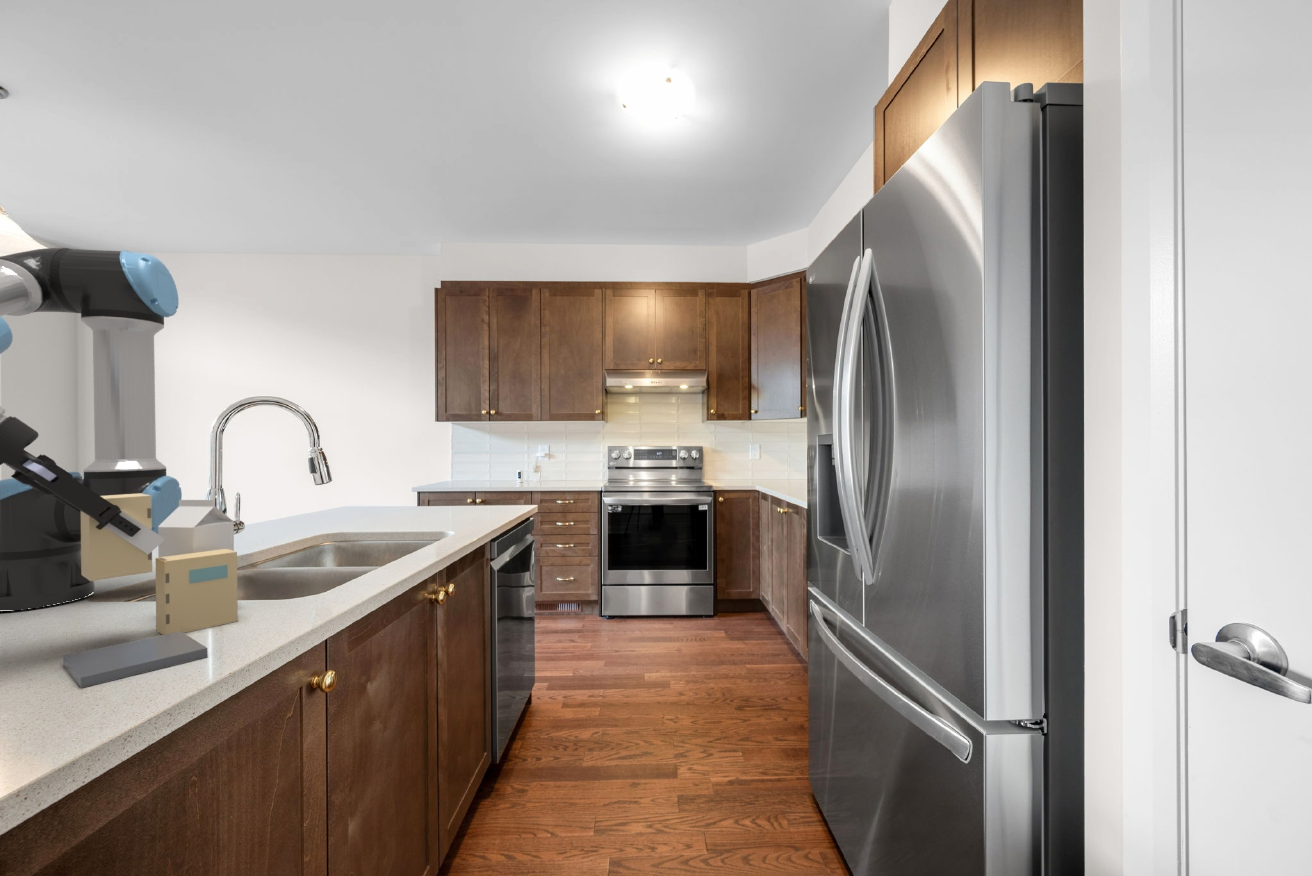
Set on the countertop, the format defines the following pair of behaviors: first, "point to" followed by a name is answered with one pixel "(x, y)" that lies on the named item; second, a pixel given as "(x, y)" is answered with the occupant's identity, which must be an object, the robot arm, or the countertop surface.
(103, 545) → the tan rectangular block
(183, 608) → the cardboard shipping box
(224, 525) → the milk carton
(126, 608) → the countertop surface
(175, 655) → the plate
